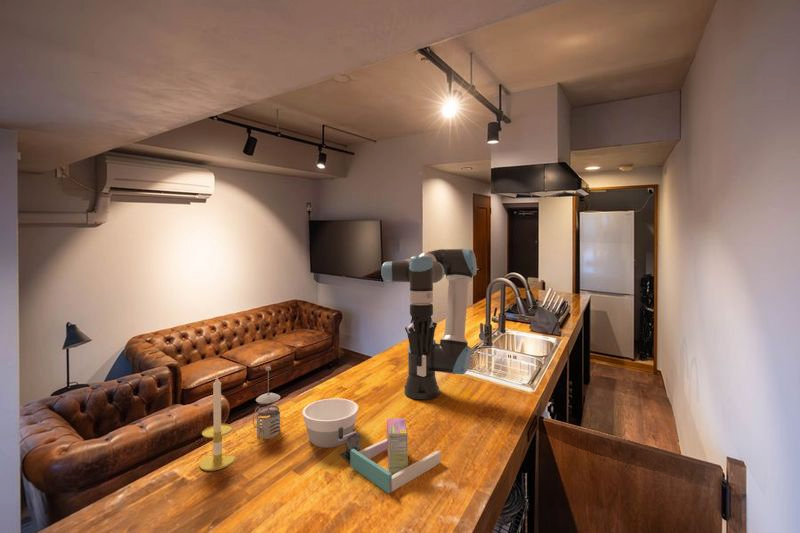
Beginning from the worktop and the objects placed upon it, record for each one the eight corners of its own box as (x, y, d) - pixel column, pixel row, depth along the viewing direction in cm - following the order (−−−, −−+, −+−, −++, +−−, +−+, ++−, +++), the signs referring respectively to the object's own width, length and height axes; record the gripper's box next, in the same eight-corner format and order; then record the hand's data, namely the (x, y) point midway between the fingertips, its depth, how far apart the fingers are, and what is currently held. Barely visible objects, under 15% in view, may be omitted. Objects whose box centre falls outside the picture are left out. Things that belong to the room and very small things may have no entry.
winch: (333, 459, 112) (333, 425, 112) (355, 449, 118) (355, 417, 118) (344, 467, 108) (344, 432, 108) (366, 457, 114) (366, 423, 113)
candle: (231, 468, 107) (230, 379, 107) (194, 472, 105) (193, 381, 105) (238, 451, 117) (238, 369, 117) (205, 454, 115) (204, 371, 114)
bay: (350, 466, 108) (350, 450, 108) (401, 442, 123) (401, 427, 123) (388, 493, 96) (388, 475, 96) (440, 463, 110) (440, 447, 110)
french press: (288, 432, 130) (288, 364, 129) (267, 448, 119) (266, 373, 118) (266, 428, 133) (266, 361, 132) (243, 443, 122) (242, 370, 121)
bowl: (309, 460, 112) (309, 426, 112) (297, 433, 129) (297, 403, 129) (367, 445, 121) (366, 413, 121) (348, 422, 138) (347, 394, 138)
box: (387, 454, 115) (386, 418, 115) (404, 454, 115) (404, 417, 115) (388, 474, 105) (388, 434, 104) (408, 473, 105) (408, 433, 105)
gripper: (415, 306, 109) (415, 383, 110) (443, 302, 118) (443, 373, 119) (398, 304, 115) (399, 377, 116) (426, 300, 124) (426, 368, 125)
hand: (421, 375), depth 117 cm, fingers closed
